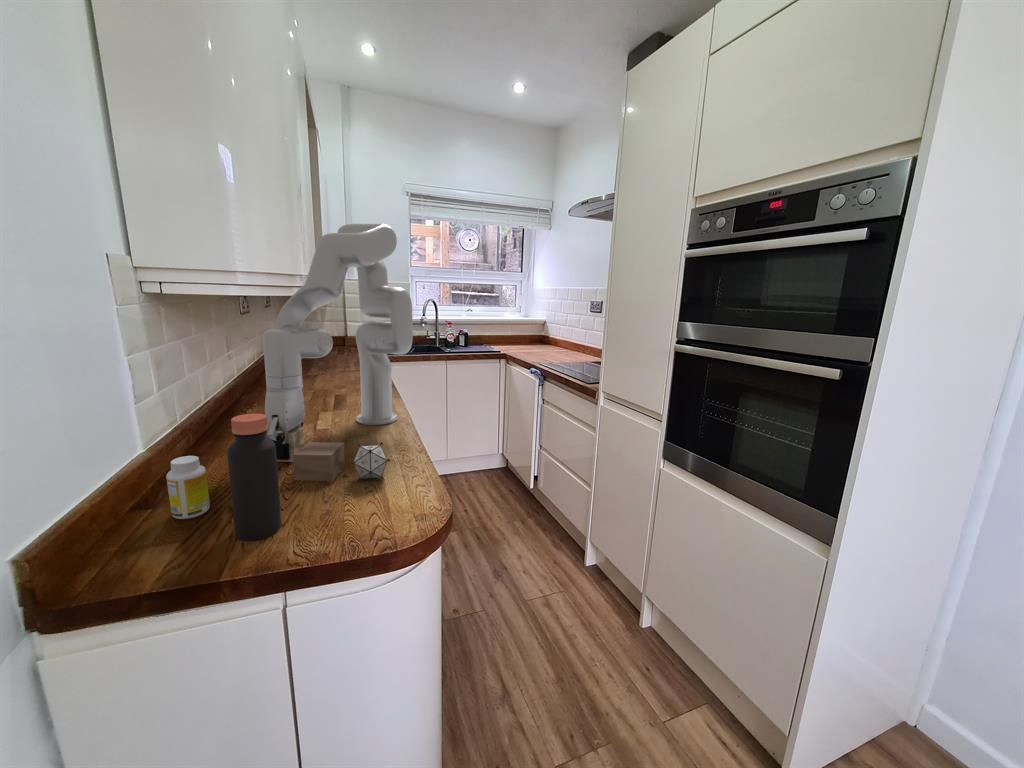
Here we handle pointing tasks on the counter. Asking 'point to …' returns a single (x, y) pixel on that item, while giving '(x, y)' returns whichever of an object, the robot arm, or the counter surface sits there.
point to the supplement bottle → (187, 488)
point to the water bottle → (253, 478)
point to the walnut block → (318, 461)
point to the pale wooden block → (293, 441)
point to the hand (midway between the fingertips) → (289, 453)
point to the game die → (370, 461)
